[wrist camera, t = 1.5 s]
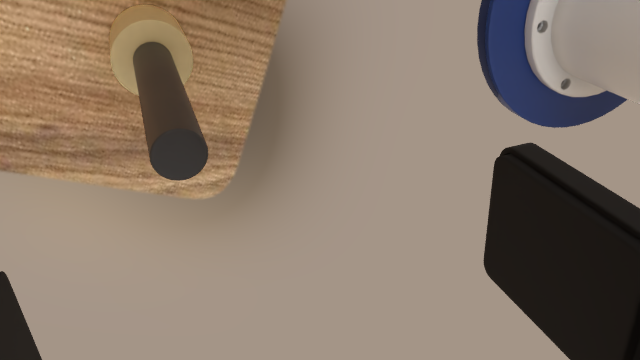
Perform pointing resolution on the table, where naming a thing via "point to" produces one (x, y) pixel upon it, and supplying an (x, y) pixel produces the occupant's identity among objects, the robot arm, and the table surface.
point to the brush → (159, 87)
